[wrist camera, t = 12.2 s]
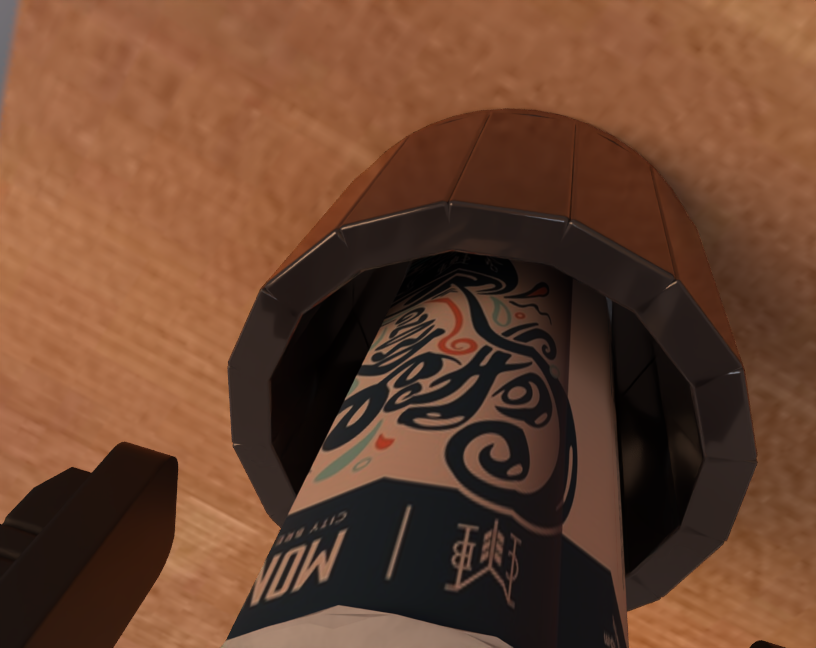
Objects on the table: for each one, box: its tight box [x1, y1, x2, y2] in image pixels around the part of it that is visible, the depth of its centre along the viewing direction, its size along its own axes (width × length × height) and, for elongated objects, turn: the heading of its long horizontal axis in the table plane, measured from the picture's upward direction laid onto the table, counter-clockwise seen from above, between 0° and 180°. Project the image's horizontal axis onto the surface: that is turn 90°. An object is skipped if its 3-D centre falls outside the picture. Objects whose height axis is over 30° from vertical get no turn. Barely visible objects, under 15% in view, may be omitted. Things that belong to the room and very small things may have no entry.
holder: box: [228, 109, 758, 612], centre depth 15 cm, size 9×9×6 cm
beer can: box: [221, 251, 629, 648], centre depth 12 cm, size 5×5×12 cm
